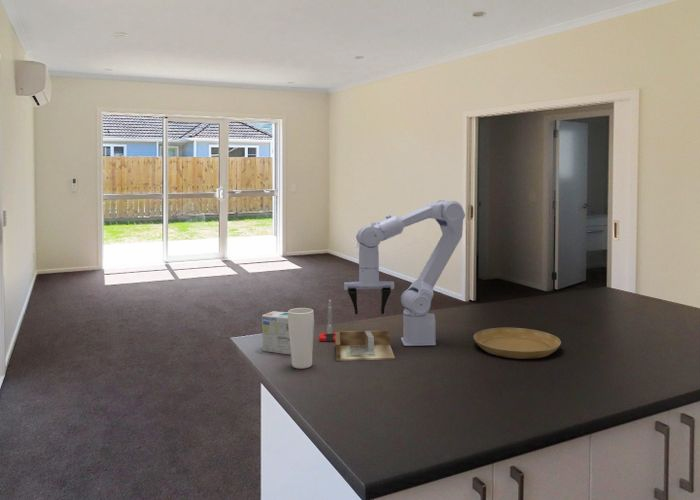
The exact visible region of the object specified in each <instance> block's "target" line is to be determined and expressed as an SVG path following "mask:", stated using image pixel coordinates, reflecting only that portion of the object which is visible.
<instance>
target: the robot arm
mask: <svg viewBox="0 0 700 500" xmlns="http://www.w3.org/2000/svg"><path fill="white" fill-rule="evenodd" d="M465 217H466V213H465V211H464V208H463V206H462V204H461V203H460V202H458V201H456V200H451V201H449V200H448V201H447V200H444V199H441V200H438V201H436V202H430V203H427V204H425V205H424V206H421V207H419V208H417V209H415V210H412V211H410V212H408V213H406V214H404V215H402V216H397V215H395V214H393V215H391V214H387V215H385V218H384V219H381V220H378V221H376V222H375V221H372V222H370V225H363V226H362V227H360V228H359V230H357V233H356V235H355V238H356V241H357V242H358V244H359V245H358V248H359V249H358V281H349V282H346V281H345V282H344V283H343V290H344V291H347V293H348V295H349V297H350V299H351V302H352V306H353V309H354V315H358V313H359V312H358V310H359V309H358V301H357V300H358V294H357V293H358V292H357V290H380V298H381V300H380V301H381V302H380V303H381V304H380V313H381V315H385V308H386V305H387V302H388V299H389V298H390V295H391V292H392V291H391V290H395V281H385V280H382V281H381V280H380V279H379V278H380V275H379V274H380V273H379V271H380V263H379V262H380V257H379V254H380V253H379V245H380V244H381V242H384V241H385V240H388V239H391V238H393V237H396V236H399V235H400V234H402V232H403V231H404V228H406V227H409V226H411V225H414V224H417V223H420V222H422V221H425V220H429V219H434V220H435V221H436V222H437V224H438V225H439V227H440V230H441V232H442V233H441V234H442V235H441V236H440V239H439V240H438V242H437V244H436V245H435V247H434V249H433V250H432V253H431V254H430V257H429V258H428V260H427V261H426V263H425V265H424V266H423V268H422V270H421V272H420V274H419V276H418V277H417V279H416V280H414V281H413V282H412V283H411V284H410V286H409V287H408V288H407V289H406V290H404V291H403V292H402V293H401V295H400V303H401V305H402V306H403V307H404V309H403V314H402V317H403V318H402V319H403V320H402V321H403V322H402V323H403V332H402V333H403V337H400V340H401V343H402V345H403V346H404V347H415V346H416V347H418V346H422V347H423V346H437V343H436V316H435V313H434V312H432V313H429V311H430V309H431V305H432V303H431V302H432V299H433V298H434V295H435V294H434V287H435V286H436V284H437V282H438V280H439V278H440V277H441V275H442V273H443V271H444V270H445V268H446V266H447V264H448V262H449V261H450V259H451V257H452V256H453V253H454V252H455V249H456V248H457V247H458V245H459V243H460V242H461V239H462V237H463V229H464V227H463V225H464V219H465Z"/></svg>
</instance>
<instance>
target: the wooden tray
mask: <svg viewBox="0 0 700 500" xmlns="http://www.w3.org/2000/svg"><path fill="white" fill-rule="evenodd" d="M365 331H366V330H342V331H341V330H339V331H337V330H336V331H334V332H336V336H335V337H336V342H335V360H336V359H340V346H343V345H365ZM370 331H371V333H372V335H373V337H374V345H390V346H391V330H389V329H386V330H385V329H381V330H378V329H377V330H375V329H374V330H370Z"/></svg>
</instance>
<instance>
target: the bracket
mask: <svg viewBox="0 0 700 500" xmlns="http://www.w3.org/2000/svg"><path fill="white" fill-rule="evenodd" d="M364 331H365V345H360V346H350V351H351V353H352V356H361V355H374V337H373V335H372V333H371V331H372V330H364Z"/></svg>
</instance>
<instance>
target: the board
mask: <svg viewBox="0 0 700 500" xmlns="http://www.w3.org/2000/svg"><path fill="white" fill-rule="evenodd" d="M350 346H360V345H343V346H340V359H336V358H335V362H336V361H337V362H340V361H341V362H342V361H344V362H345V361H380V360H381V361H384V360H385V361H386V360H387V361H388V360H395V359H396V358H395V354H394V352H393V349H392V347H391V344H390V345H374V355H361V356H352V353H351V351H350Z"/></svg>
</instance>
